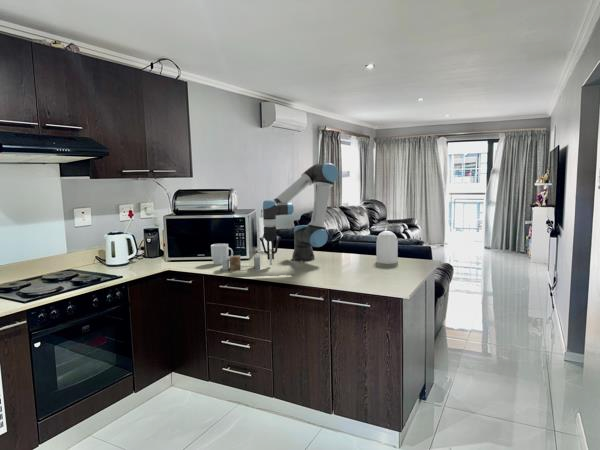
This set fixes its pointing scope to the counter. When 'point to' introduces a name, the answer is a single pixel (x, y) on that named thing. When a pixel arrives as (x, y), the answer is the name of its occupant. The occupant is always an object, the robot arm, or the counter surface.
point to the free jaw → (257, 261)
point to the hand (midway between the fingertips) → (270, 264)
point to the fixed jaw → (225, 263)
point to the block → (235, 262)
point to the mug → (219, 252)
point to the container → (387, 248)
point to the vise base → (237, 270)
